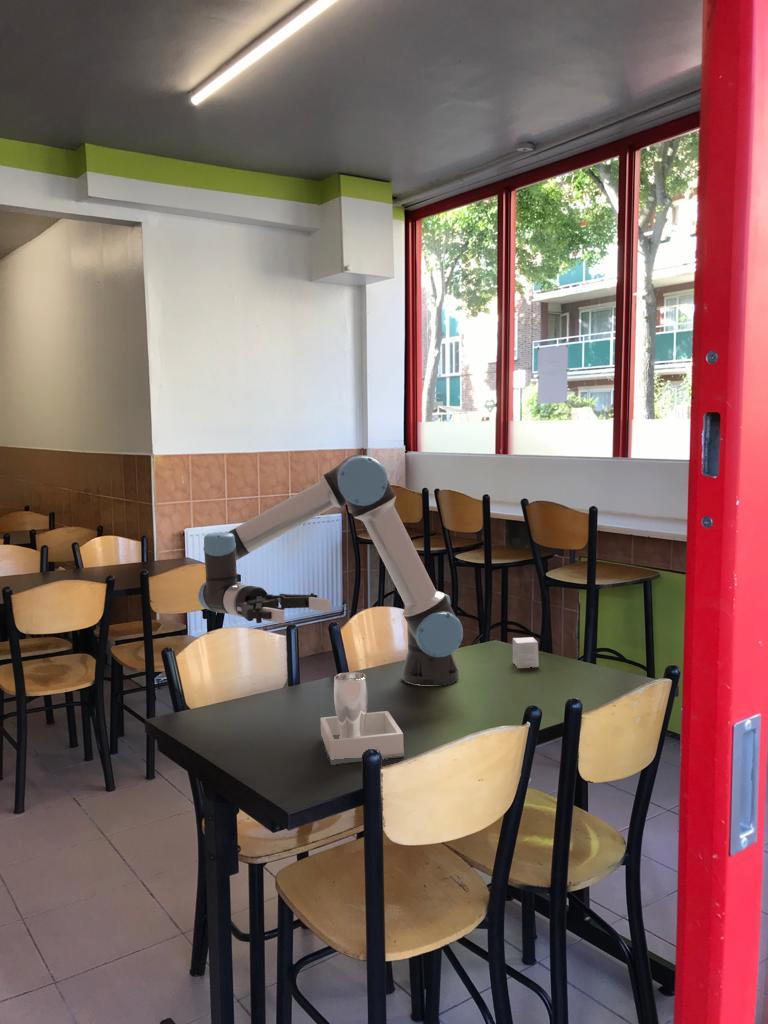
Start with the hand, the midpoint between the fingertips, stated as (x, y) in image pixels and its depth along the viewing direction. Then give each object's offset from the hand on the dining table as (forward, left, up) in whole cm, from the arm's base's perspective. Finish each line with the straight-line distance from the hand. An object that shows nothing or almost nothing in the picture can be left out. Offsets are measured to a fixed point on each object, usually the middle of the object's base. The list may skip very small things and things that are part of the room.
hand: (306, 611), depth 186 cm
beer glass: (+13, +7, -27) cm, 31 cm away
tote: (+12, +9, -28) cm, 31 cm away
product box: (-38, +65, -28) cm, 80 cm away
